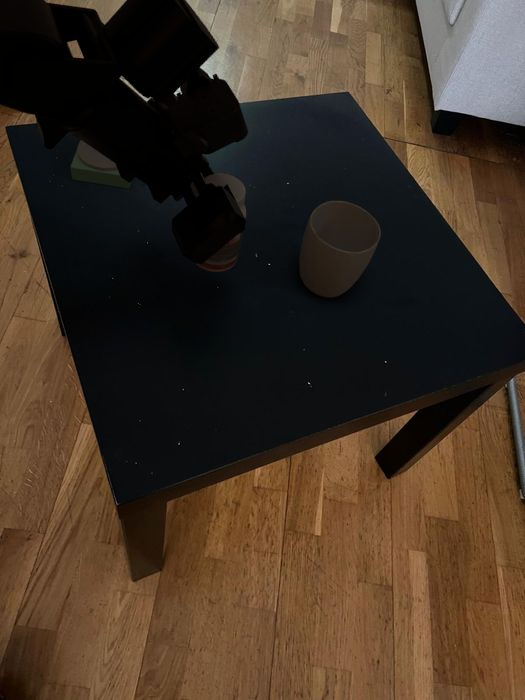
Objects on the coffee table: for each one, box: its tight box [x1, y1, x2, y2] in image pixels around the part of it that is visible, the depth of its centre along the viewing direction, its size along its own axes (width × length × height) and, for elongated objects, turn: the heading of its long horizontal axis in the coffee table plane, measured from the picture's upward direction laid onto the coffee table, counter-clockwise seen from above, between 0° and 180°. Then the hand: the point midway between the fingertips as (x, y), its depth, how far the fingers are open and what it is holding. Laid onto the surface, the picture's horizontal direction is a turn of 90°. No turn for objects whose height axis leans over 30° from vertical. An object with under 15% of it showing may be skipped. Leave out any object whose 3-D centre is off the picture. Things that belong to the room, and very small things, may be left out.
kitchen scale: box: [69, 139, 133, 190], centre depth 77 cm, size 8×8×3 cm
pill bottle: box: [195, 172, 247, 273], centre depth 59 cm, size 6×6×10 cm
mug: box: [298, 200, 381, 299], centre depth 70 cm, size 13×9×10 cm
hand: (231, 211), depth 58 cm, fingers closed on pill bottle, 6 cm apart
